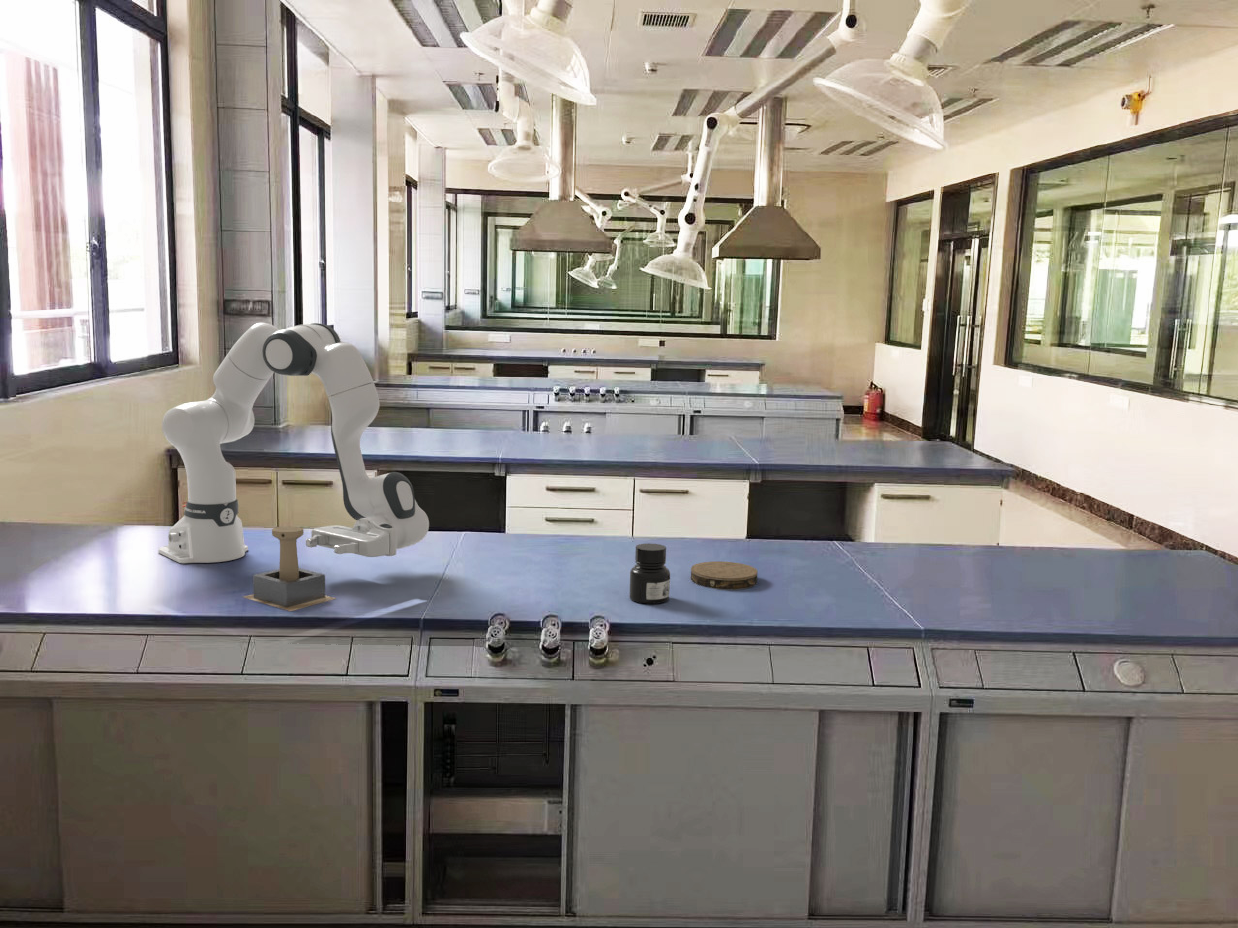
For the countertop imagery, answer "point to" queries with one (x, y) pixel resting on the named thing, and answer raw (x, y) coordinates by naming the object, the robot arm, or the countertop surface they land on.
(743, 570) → the brown round disc
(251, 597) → the base board
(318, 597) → the square frame
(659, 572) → the ink bottle
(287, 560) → the handle
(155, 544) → the countertop surface
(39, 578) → the countertop surface
